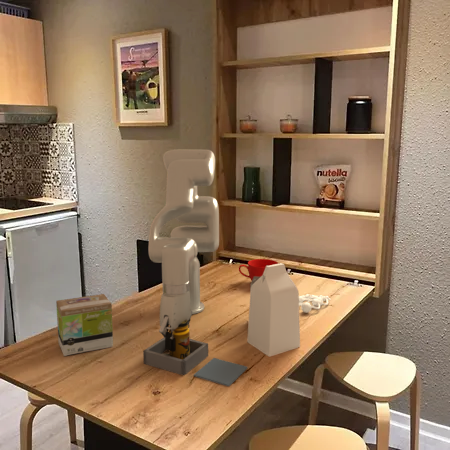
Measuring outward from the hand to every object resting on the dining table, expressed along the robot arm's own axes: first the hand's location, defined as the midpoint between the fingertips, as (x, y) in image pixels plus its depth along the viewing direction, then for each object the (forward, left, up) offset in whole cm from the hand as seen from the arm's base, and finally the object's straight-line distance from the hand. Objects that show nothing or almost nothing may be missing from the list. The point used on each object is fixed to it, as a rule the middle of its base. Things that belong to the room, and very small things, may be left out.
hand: (177, 344), depth 141 cm
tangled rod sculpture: (+19, +60, -5) cm, 63 cm away
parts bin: (0, -1, -4) cm, 5 cm away
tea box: (-30, -7, -5) cm, 31 cm away
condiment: (0, -1, -4) cm, 5 cm away
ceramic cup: (-7, +71, -5) cm, 72 cm away
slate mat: (+15, -1, -4) cm, 16 cm away
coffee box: (+11, +34, -5) cm, 37 cm away
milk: (+21, +22, -5) cm, 31 cm away
